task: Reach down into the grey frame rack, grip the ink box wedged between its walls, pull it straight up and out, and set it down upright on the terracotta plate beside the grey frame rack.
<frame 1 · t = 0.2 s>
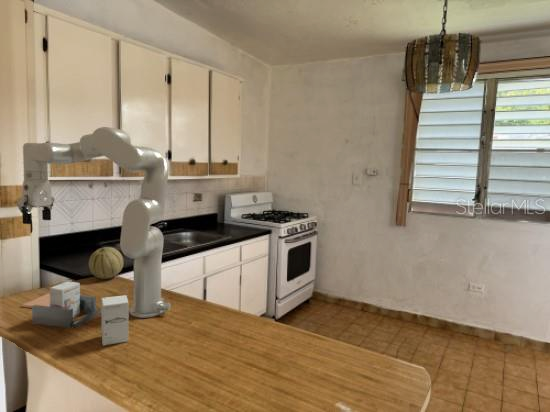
hand: (37, 221, 138), 31 cm above the worktop, tool pointing down, fingers open, 9 cm apart
grey frame rack: (65, 317, 127), on the worktop
cantaloupe: (106, 278, 172), on the worktop
supplement box: (115, 339, 113), on the worktop
ink box: (65, 318, 127), resting in grey frame rack
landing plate: (51, 302, 140), on the worktop
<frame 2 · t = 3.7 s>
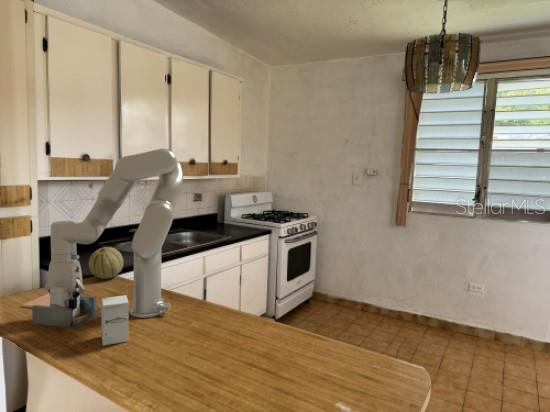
hand: (65, 308, 127), 3 cm above the worktop, tool pointing down, fingers closed on ink box, 5 cm apart
ink box: (65, 318, 127), resting in grey frame rack, touching gripper
everything else where it was.
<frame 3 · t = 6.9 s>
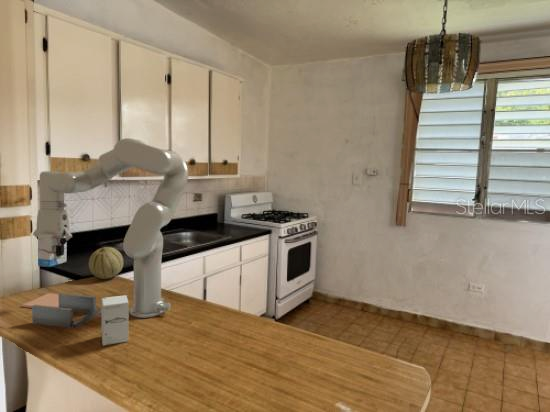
hand: (52, 254, 134), 20 cm above the worktop, tool pointing down, fingers closed on ink box, 5 cm apart
ink box: (52, 264, 134), point 16 cm above the worktop, touching gripper
everything else where it was.
when the fingers open (6 cm above the worktop, at t = 10.3 s): ink box drops 1 cm, resting on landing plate.
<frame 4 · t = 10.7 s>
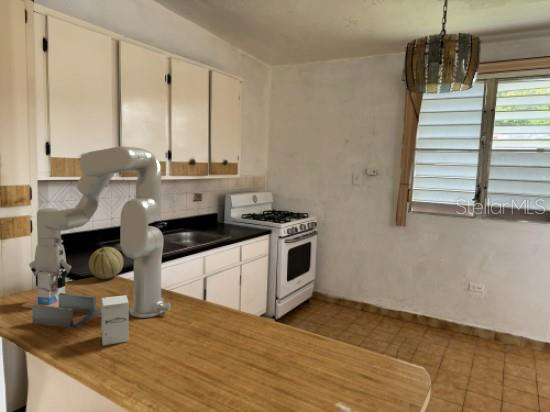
hand: (50, 286, 139), 6 cm above the worktop, tool pointing down, fingers open, 8 cm apart
ink box: (52, 301, 140), point 1 cm above the worktop, touching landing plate
everything else where it was.
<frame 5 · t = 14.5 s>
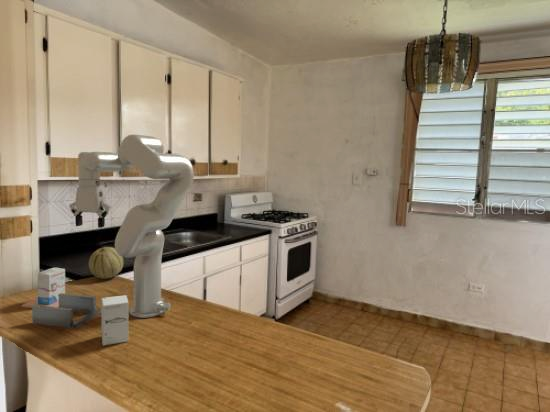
hand: (90, 226, 147), 28 cm above the worktop, tool pointing down, fingers open, 9 cm apart
nothing on the worktop moved.
at the end: ink box inside the target area on the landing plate (0.5 cm from its centre), point 0.6 cm above the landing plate's base; ink box tilted 0°; the gripper is holding nothing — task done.
